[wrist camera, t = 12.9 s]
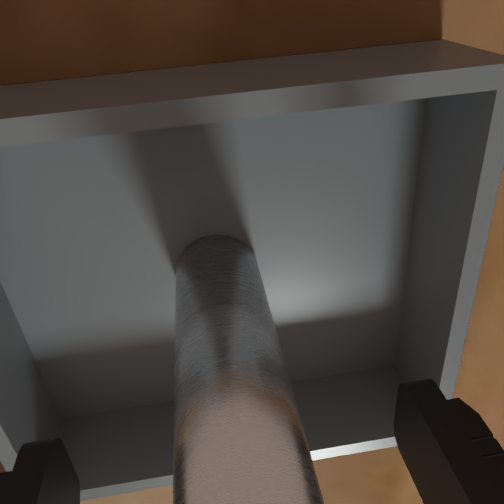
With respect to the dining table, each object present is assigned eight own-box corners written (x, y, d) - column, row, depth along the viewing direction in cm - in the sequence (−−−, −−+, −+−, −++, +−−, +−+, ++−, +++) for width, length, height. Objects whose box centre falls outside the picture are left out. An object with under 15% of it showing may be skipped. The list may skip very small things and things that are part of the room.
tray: (442, 39, 15) (526, 61, 11) (401, 363, 22) (443, 437, 18) (-93, 95, 13) (-188, 139, 10) (53, 419, 21) (28, 509, 17)
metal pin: (267, 214, 16) (462, 728, 5) (273, 306, 18) (422, 815, 7) (152, 229, 16) (88, 811, 5) (171, 321, 18) (158, 877, 7)
